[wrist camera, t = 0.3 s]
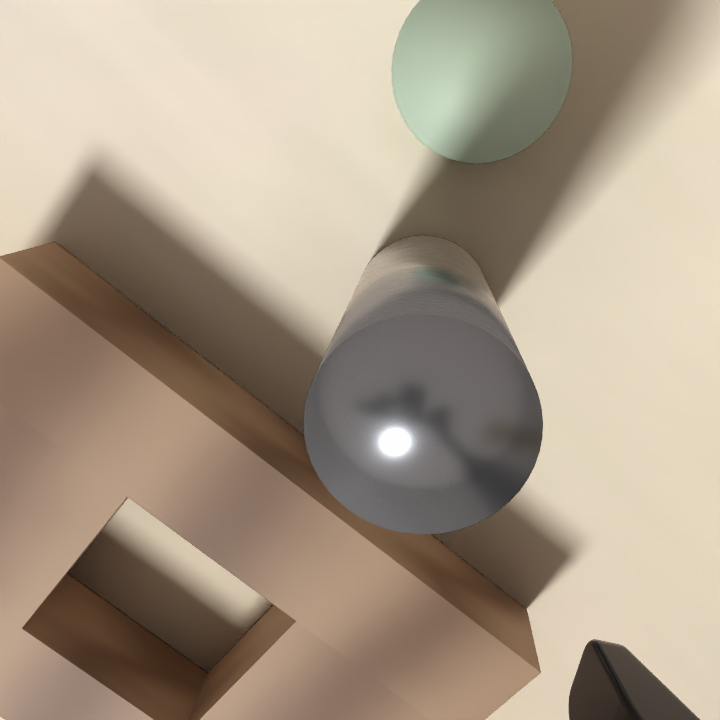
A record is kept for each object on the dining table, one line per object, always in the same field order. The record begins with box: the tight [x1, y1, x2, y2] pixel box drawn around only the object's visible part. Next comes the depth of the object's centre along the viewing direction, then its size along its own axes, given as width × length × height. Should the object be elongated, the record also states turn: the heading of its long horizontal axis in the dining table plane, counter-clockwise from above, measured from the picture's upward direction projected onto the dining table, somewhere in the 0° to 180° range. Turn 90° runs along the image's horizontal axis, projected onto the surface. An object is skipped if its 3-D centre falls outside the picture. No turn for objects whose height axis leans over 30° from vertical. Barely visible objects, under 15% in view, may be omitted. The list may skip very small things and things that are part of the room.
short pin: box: [392, 0, 573, 163], centre depth 17 cm, size 4×4×4 cm
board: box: [0, 242, 541, 720], centre depth 23 cm, size 20×14×3 cm
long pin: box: [303, 235, 543, 534], centre depth 16 cm, size 4×4×10 cm
